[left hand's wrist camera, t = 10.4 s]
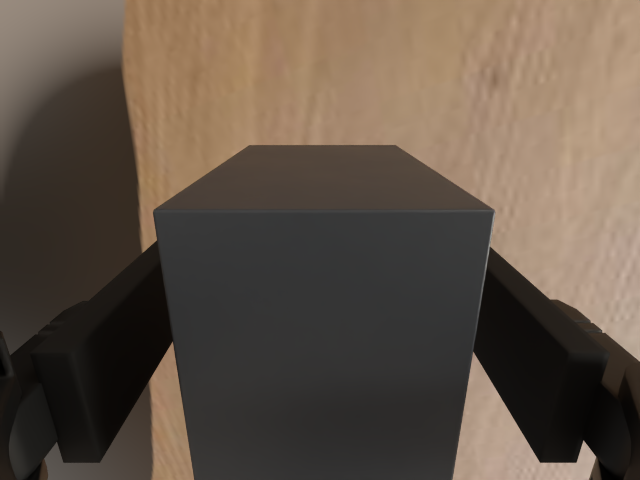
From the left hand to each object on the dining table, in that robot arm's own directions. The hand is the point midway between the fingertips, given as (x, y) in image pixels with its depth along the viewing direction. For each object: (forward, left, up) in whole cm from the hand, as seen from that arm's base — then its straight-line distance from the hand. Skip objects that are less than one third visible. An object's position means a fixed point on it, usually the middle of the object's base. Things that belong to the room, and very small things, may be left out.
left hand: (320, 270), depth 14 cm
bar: (+9, +2, -2) cm, 9 cm away
